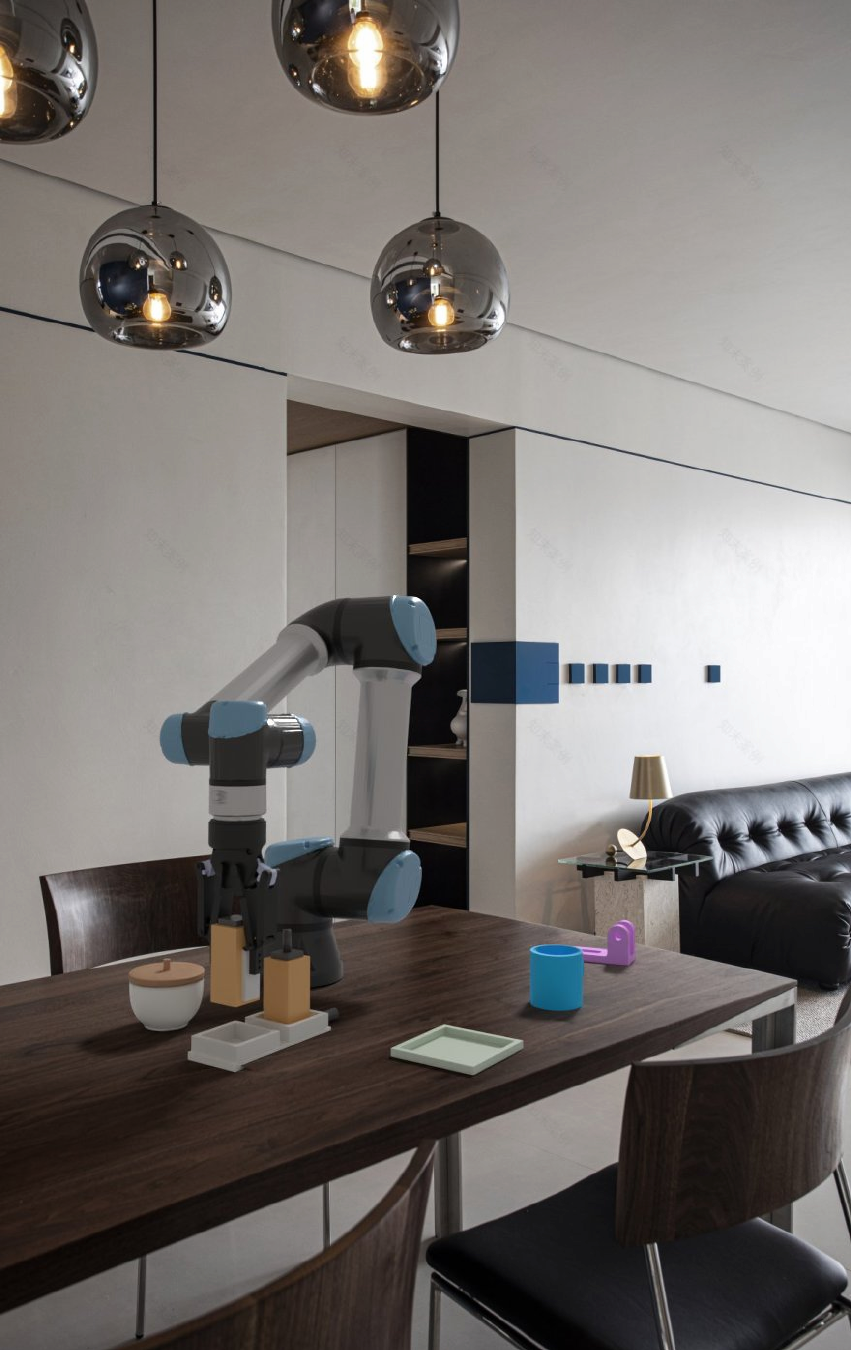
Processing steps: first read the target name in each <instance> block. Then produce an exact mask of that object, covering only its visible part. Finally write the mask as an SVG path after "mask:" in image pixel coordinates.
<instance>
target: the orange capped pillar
mask: <svg viewBox="0 0 851 1350" xmlns="http://www.w3.org/2000/svg"><path fill="white" fill-rule="evenodd" d="M255 939H256V937H255ZM245 946H246V940H245V934H244V927H243V921H242V915H241V914H233V915H232V914H231V915H230V916H227V917H222V918H218V923H217V924H212V925H211V966H210V999H209V1000H210V1002H211V1003H215V1004H220V1005H224V1006H228V1007H233V1008H238V1007H241V1006H243V1005H247V1004H249V1003H253V1002H257V1001H259V1000H260V999H261V997H257V998H254V999H251V1000H248V1001H241V967H242V950H243V948H242V947H245Z"/></svg>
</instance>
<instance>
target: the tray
mask: <svg viewBox="0 0 851 1350" xmlns="http://www.w3.org/2000/svg"><path fill="white" fill-rule="evenodd" d="M521 1050H524V1040H522V1039H518V1038H512V1037H507V1036H503V1035H498V1034H494V1033H487V1032H483V1031H478V1030H473V1029H468V1028H463V1027H458V1026H453V1025H450V1024H445V1023H444V1024H442V1025H439V1026H437V1027H434V1028H433V1029H431V1030H428V1031H426V1032H424V1033H421V1034H419V1035H417V1036H414V1037H413V1038H410V1039H409V1040H406V1041H403V1042H402V1043H399V1044H397V1045H395V1046H393V1047H391V1048H390V1057H392V1058H397V1059H401V1060H405V1061H410V1062H412V1063H413V1062H414V1063H419V1064H421V1065H422V1064H424V1065H427V1066H432V1067H436V1068H440V1069H445V1070H448V1071H452V1072H457V1073H462V1074H465V1075H466V1074H467V1075H471V1076H474V1075H477V1074H479V1073H480V1072H482V1071H484V1070H486V1069H488V1068H490V1067H492V1066H493V1065H495V1064H498V1063H499V1062H501V1061H502V1060H505V1059H507V1058H509V1057H510V1056H512V1055H514V1054H516V1053H517V1052H519V1051H521Z"/></svg>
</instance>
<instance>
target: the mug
mask: <svg viewBox="0 0 851 1350" xmlns="http://www.w3.org/2000/svg"><path fill="white" fill-rule="evenodd" d="M574 946H575V945H568V944H541V945H539V944H538V945H535V946H532V947H530V949H529V1004H530V1005H531V1006H532V1007H535V1008H536V1009H541V1010H546V1011H547V1010H548V1011H559V1012H560V1011H572V1010H577V1009H579V1008H582V1007H583V1005H584V977H585V961H583V950H582V949H580V948H577V947H574Z"/></svg>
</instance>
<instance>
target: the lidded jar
mask: <svg viewBox="0 0 851 1350" xmlns="http://www.w3.org/2000/svg"><path fill="white" fill-rule="evenodd" d="M171 960H172V959H171V958H163V961H162V962H156V963H155V962H154V963H149V964H144V965H141V966H140V965H139V966H137V967H134V968H133V969H131V970H130V971H129V972H128V977H127V978H128V979H127V980H128V982H129V983H128V984H129V985H128V987H129V988H128V990H129V991H128V992H129V993H128V995H129V1000H130V1005H131V1008H132V1011H133V1013H134V1015H135V1017H136V1018H137V1019H138V1021H140V1022H141V1023H142V1024H143V1025H144V1027H145V1028H146V1030H149V1031H152V1032H153V1031H154V1032H156V1031H157V1032H171V1031H176V1030H180V1029H184V1028H185V1027H187V1026H188V1025H189V1022H190V1021H191V1020H192V1019H193V1018H194V1017H195V1016H196V1014H197V1013H198V1011H199V1010H200V1007H201V1004H202V1001H203V997H204V990H205V989H204V988H205V977H206V976H205V975H206V969H205V968H204V966H201V965H200V964H197V963H193V962H184V961H183V962H182V961H171Z"/></svg>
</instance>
